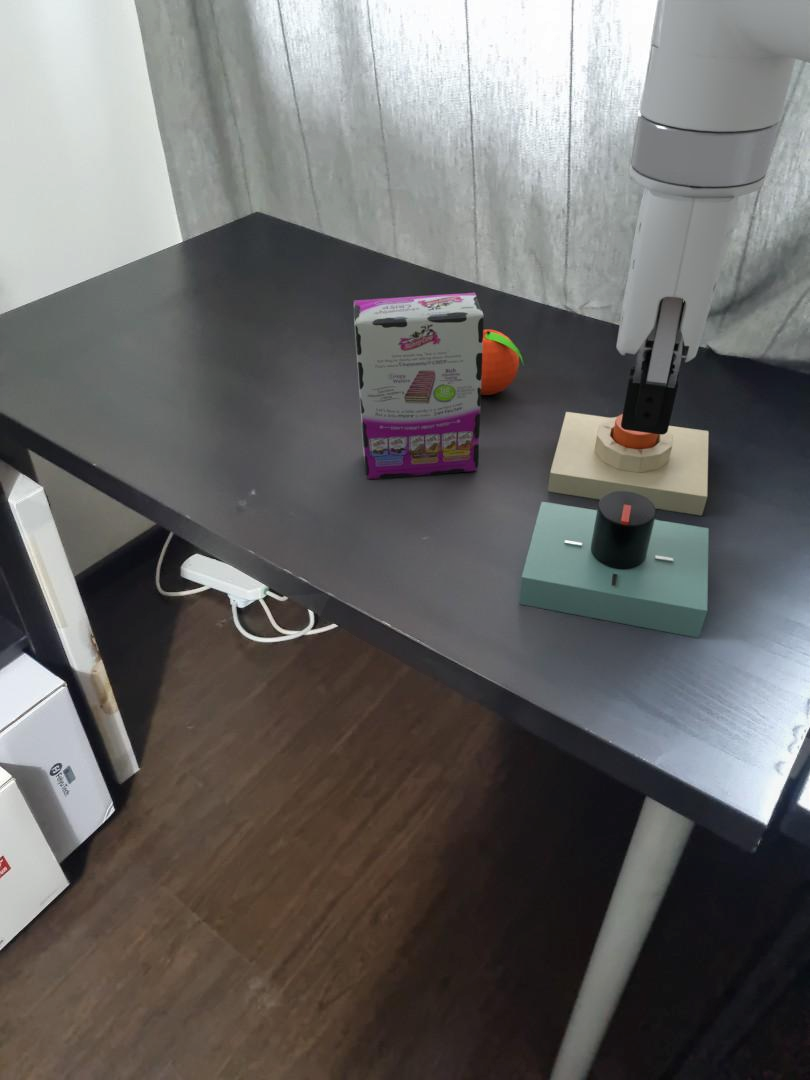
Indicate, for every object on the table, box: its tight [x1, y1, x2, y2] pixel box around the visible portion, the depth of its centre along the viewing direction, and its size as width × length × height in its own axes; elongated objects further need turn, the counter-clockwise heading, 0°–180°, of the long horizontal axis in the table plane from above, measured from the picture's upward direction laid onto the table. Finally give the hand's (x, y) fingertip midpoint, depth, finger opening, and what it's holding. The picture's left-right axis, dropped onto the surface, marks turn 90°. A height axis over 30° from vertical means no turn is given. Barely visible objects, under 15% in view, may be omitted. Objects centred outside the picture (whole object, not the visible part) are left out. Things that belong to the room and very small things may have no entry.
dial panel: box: [518, 501, 710, 639], centre depth 68 cm, size 14×10×3 cm
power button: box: [613, 413, 658, 450], centre depth 77 cm, size 4×4×2 cm
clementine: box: [481, 329, 525, 396], centre depth 89 cm, size 8×7×7 cm
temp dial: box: [591, 491, 657, 569], centre depth 65 cm, size 4×4×5 cm
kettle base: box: [547, 411, 710, 517], centre depth 79 cm, size 14×11×4 cm
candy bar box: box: [353, 292, 485, 480], centre depth 76 cm, size 11×5×16 cm, turn 95°
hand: (644, 424), depth 59 cm, fingers closed
